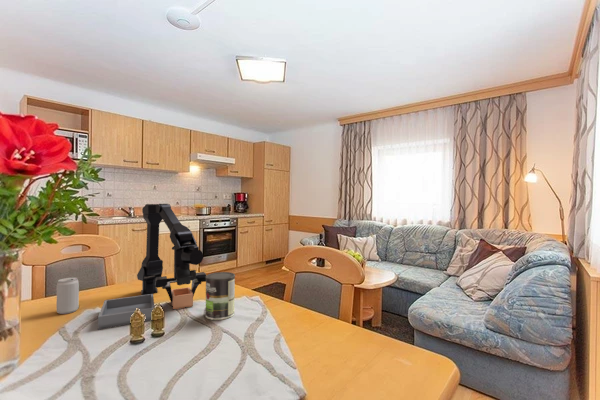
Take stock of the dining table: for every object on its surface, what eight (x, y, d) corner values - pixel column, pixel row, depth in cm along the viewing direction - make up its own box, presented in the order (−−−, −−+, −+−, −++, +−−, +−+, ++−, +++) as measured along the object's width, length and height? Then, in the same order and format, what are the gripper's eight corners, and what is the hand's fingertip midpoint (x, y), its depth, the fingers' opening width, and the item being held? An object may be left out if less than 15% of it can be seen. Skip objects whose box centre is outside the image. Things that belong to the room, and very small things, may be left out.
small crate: (171, 301, 117) (171, 289, 117) (189, 299, 120) (189, 287, 120) (173, 309, 108) (173, 296, 108) (192, 306, 111) (193, 293, 111)
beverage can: (66, 315, 103) (66, 281, 103) (51, 314, 104) (52, 280, 104) (82, 309, 109) (83, 277, 109) (69, 307, 110) (69, 276, 110)
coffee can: (215, 322, 96) (215, 280, 96) (199, 314, 103) (200, 275, 103) (240, 314, 104) (240, 275, 104) (224, 307, 111) (225, 270, 111)
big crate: (104, 311, 107) (104, 300, 107) (153, 303, 114) (153, 293, 114) (97, 329, 91) (97, 316, 91) (154, 319, 99) (154, 308, 99)
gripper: (156, 268, 103) (156, 312, 102) (210, 263, 111) (210, 303, 111) (155, 262, 112) (155, 302, 112) (204, 258, 121) (204, 295, 121)
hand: (181, 301), depth 114 cm, fingers closed on small crate, 7 cm apart
